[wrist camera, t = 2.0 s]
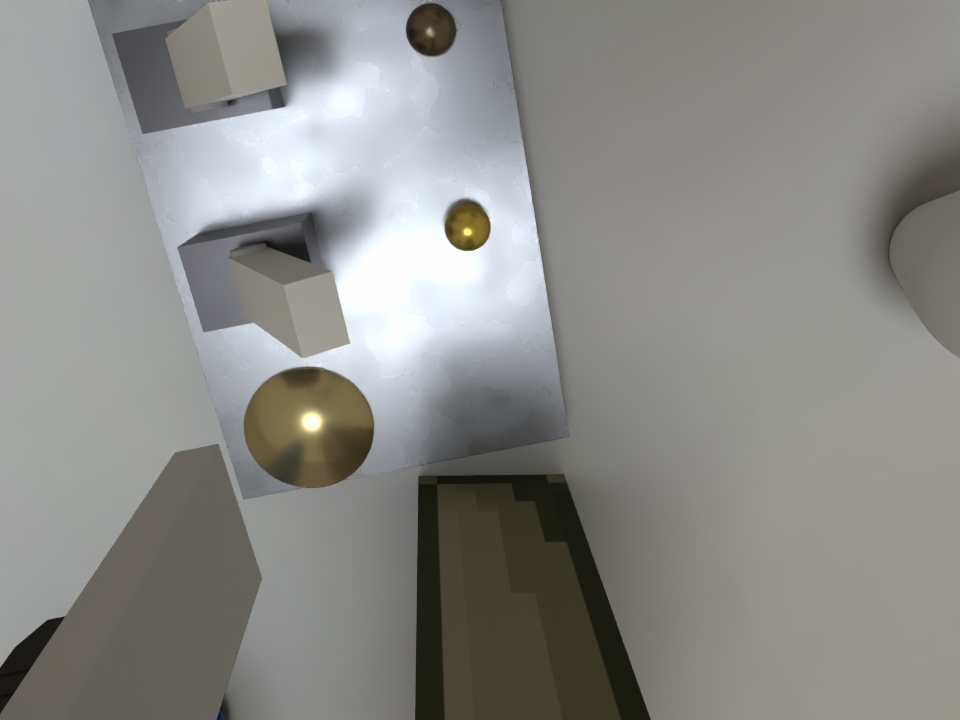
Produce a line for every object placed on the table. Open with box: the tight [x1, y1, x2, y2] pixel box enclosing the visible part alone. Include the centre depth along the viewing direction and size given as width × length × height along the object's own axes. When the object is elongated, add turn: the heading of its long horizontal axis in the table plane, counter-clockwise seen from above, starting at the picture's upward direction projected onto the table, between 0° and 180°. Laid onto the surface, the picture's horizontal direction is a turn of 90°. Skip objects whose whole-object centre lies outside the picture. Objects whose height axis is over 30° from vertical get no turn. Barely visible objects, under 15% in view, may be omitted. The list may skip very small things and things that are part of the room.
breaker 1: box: [165, 0, 287, 113], centre depth 27 cm, size 3×2×8 cm, turn 10°
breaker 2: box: [228, 243, 350, 359], centre depth 29 cm, size 3×2×8 cm, turn 10°
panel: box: [88, 0, 569, 499], centre depth 35 cm, size 24×16×5 cm, turn 10°
